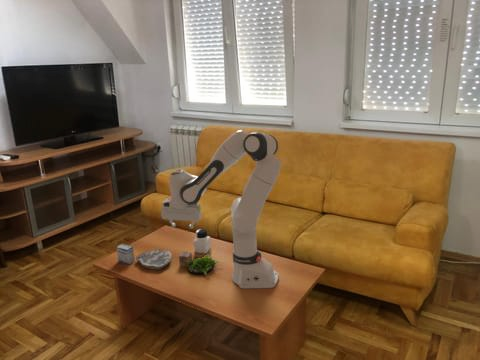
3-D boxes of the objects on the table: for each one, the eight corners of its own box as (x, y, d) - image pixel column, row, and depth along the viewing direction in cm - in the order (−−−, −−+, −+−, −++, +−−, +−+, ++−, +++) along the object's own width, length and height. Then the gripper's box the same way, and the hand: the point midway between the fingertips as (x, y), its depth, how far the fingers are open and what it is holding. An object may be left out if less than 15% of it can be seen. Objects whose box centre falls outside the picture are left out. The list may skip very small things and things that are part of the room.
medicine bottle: (210, 247, 233) (209, 228, 229) (206, 253, 226) (205, 233, 222) (199, 246, 235) (197, 227, 231) (194, 252, 228) (192, 232, 224)
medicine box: (118, 261, 222) (115, 247, 219) (123, 257, 226) (121, 243, 223) (129, 264, 218) (127, 250, 216) (135, 260, 222) (133, 246, 219)
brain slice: (180, 259, 222) (179, 254, 221) (158, 274, 209) (158, 269, 208) (153, 251, 232) (152, 246, 231) (130, 265, 219) (130, 260, 218)
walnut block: (192, 262, 218) (191, 252, 216) (188, 267, 214) (188, 256, 212) (183, 261, 219) (182, 251, 217) (179, 266, 215) (178, 256, 213)
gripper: (202, 200, 206) (204, 226, 210) (163, 198, 211) (166, 223, 215) (198, 205, 200) (200, 231, 205) (158, 203, 205) (161, 228, 209)
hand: (182, 227), depth 210 cm, fingers open, 8 cm apart
